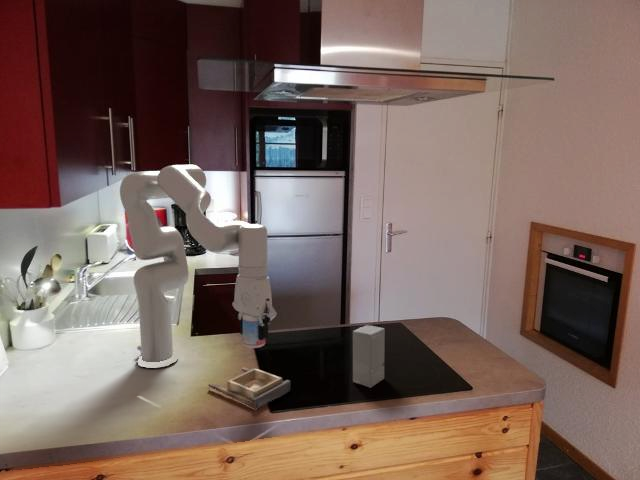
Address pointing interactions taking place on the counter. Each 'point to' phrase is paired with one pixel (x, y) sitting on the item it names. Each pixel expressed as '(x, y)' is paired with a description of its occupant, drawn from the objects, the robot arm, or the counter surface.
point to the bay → (257, 400)
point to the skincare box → (368, 355)
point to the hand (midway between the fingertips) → (254, 335)
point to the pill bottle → (251, 331)
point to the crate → (255, 374)
